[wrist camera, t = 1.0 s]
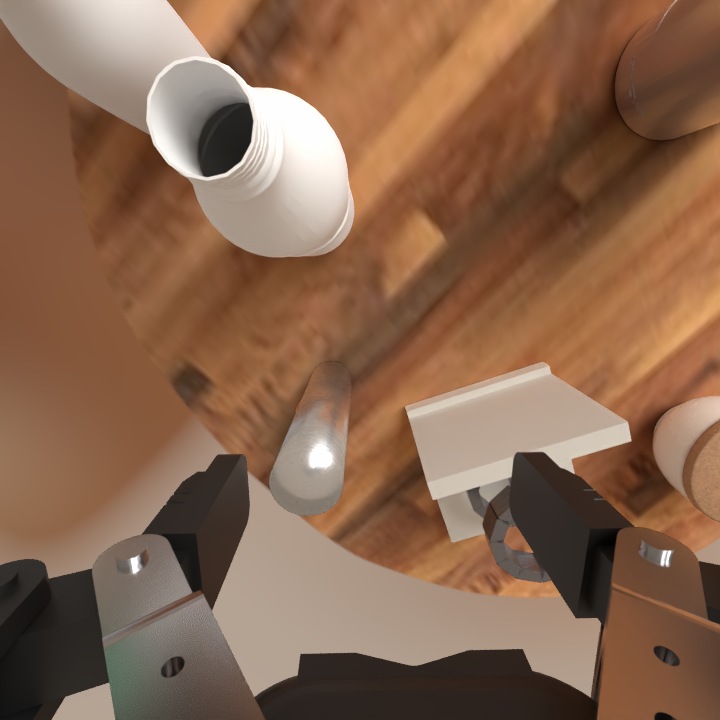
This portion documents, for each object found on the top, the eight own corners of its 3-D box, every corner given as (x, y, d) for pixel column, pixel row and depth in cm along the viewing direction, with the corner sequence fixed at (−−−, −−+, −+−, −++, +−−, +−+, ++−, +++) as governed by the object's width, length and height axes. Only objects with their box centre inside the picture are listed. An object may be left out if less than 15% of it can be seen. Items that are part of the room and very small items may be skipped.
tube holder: (541, 361, 38) (626, 411, 26) (574, 497, 42) (660, 595, 30) (404, 406, 39) (423, 473, 27) (448, 533, 43) (482, 641, 31)
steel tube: (343, 355, 38) (327, 441, 20) (357, 391, 39) (353, 503, 21) (304, 368, 38) (256, 464, 21) (319, 404, 39) (284, 524, 22)
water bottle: (371, 213, 34) (393, 119, 10) (316, 272, 36) (220, 311, 12) (312, 150, 33) (177, -128, 9) (257, 214, 34) (11, 121, 10)
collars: (529, 400, 36) (578, 444, 28) (554, 499, 38) (606, 565, 30) (445, 426, 36) (469, 477, 28) (475, 521, 39) (505, 592, 31)
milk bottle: (243, 74, 32) (58, -205, 12) (209, 167, 34) (1, 50, 14) (153, 23, 31) (-197, -363, 11) (123, 121, 33) (-223, -70, 13)
